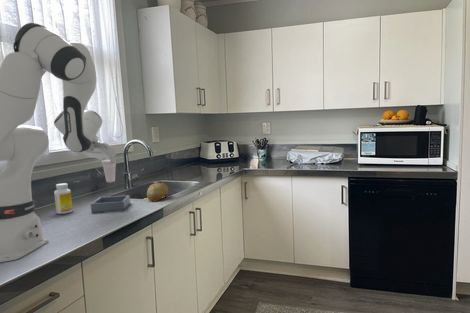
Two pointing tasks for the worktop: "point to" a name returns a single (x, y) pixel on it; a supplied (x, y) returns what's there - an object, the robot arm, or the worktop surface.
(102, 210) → the tray
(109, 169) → the smoothie
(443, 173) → the worktop surface
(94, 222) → the worktop surface
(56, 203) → the supplement bottle
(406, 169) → the worktop surface
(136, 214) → the worktop surface
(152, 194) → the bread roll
